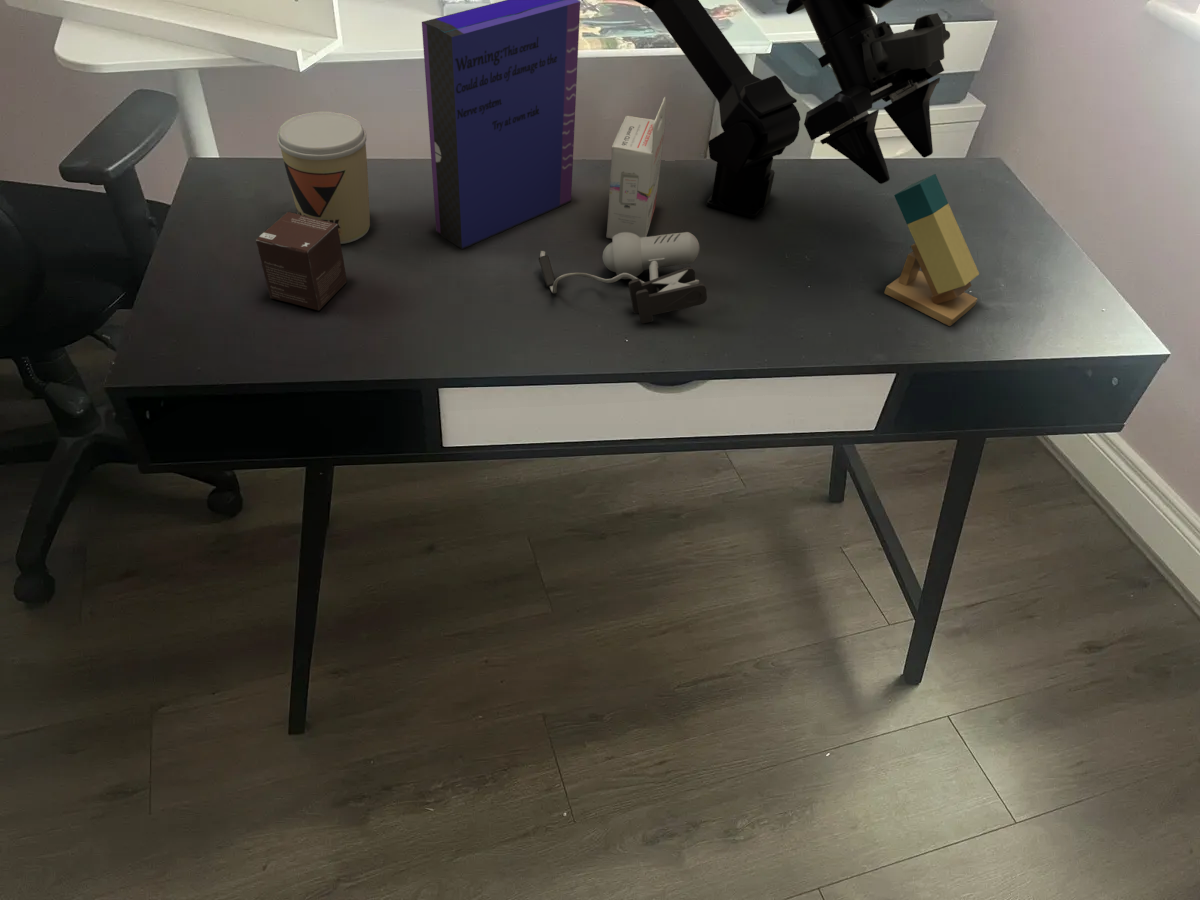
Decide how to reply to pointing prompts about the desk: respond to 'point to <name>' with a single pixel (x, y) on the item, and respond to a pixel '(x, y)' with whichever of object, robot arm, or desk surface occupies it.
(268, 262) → the box
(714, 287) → the desk surface
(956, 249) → the two-tone square bar
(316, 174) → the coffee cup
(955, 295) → the tan wooden stand
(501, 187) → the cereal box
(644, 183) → the ink cartridge box
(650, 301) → the clip-on lamp
